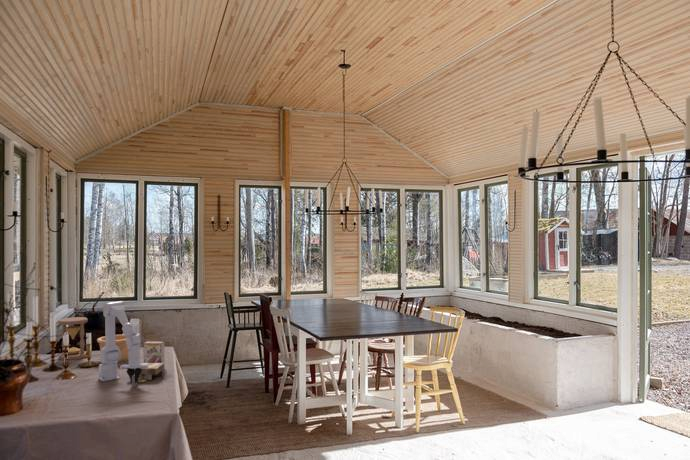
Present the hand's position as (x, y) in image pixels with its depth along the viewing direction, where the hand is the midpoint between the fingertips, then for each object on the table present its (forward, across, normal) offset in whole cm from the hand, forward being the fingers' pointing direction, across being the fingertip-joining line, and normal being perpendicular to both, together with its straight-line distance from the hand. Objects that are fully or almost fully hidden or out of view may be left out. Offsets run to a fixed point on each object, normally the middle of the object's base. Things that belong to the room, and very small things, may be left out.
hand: (134, 382), depth 299 cm
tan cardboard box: (+2, 0, +16) cm, 16 cm away
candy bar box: (+2, -3, +34) cm, 34 cm away
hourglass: (+2, -69, +66) cm, 95 cm away
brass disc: (+2, 0, +10) cm, 10 cm away
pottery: (+2, -37, +58) cm, 69 cm away
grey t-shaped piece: (+2, 0, +6) cm, 6 cm away
